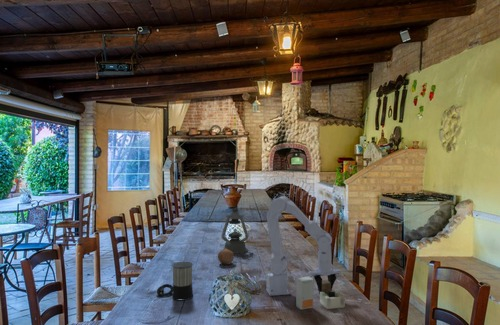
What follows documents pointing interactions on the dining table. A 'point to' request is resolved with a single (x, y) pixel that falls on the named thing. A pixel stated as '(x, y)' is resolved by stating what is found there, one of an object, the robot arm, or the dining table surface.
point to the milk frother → (179, 282)
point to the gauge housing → (332, 300)
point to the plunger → (330, 293)
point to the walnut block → (326, 286)
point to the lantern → (235, 233)
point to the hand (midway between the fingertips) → (324, 291)
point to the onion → (225, 256)
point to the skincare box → (304, 292)
